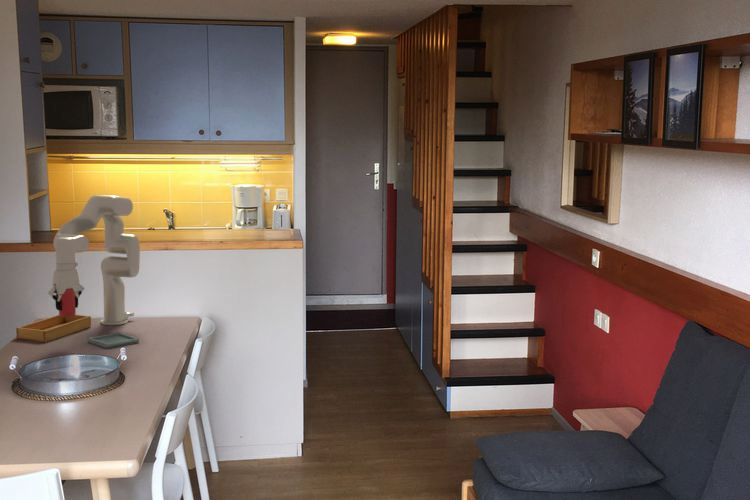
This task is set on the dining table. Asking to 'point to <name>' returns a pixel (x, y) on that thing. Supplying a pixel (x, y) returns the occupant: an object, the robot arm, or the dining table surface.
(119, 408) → the dining table surface
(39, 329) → the tray
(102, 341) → the slate tray
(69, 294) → the beer can
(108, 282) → the robot arm
